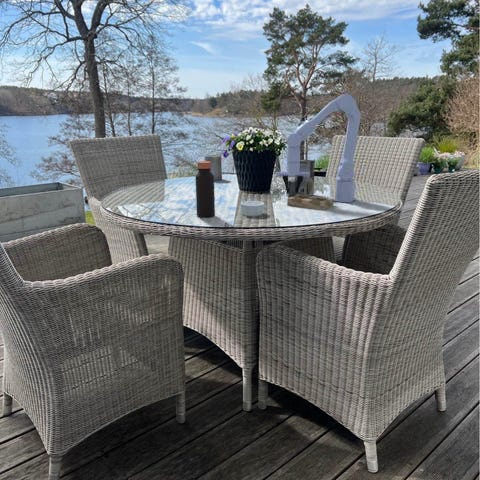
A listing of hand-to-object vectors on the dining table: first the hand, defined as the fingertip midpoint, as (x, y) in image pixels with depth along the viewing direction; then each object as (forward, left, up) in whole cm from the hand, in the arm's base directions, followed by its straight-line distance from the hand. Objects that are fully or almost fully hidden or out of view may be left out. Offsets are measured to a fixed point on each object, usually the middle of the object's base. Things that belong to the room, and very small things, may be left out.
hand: (292, 193), depth 186 cm
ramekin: (+33, 0, -3) cm, 33 cm away
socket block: (+7, +12, -3) cm, 14 cm away
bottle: (+45, -13, -3) cm, 47 cm away
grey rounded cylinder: (0, 0, -3) cm, 3 cm away
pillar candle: (-29, -66, -3) cm, 72 cm away
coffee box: (-12, 0, -3) cm, 12 cm away
